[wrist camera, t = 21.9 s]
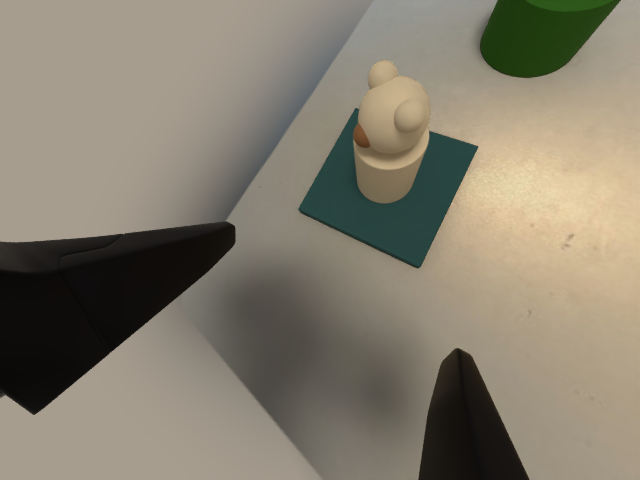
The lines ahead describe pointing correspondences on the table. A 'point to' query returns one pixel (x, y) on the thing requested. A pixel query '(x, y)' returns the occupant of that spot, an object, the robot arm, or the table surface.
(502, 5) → the candle
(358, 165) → the toy bear
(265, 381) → the table surface
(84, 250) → the robot arm
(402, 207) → the mat
